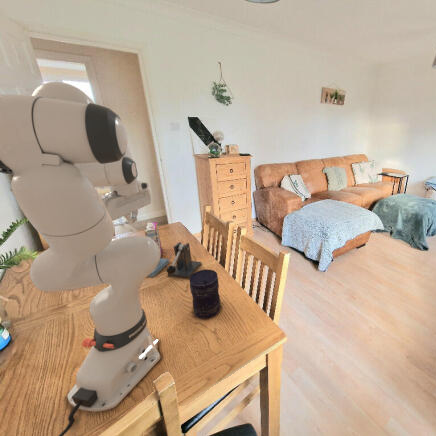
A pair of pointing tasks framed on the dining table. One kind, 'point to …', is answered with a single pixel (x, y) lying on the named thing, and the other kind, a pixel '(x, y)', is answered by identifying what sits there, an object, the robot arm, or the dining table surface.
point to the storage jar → (205, 293)
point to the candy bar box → (153, 233)
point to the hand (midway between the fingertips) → (132, 222)
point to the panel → (159, 267)
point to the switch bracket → (184, 263)
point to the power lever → (175, 261)
